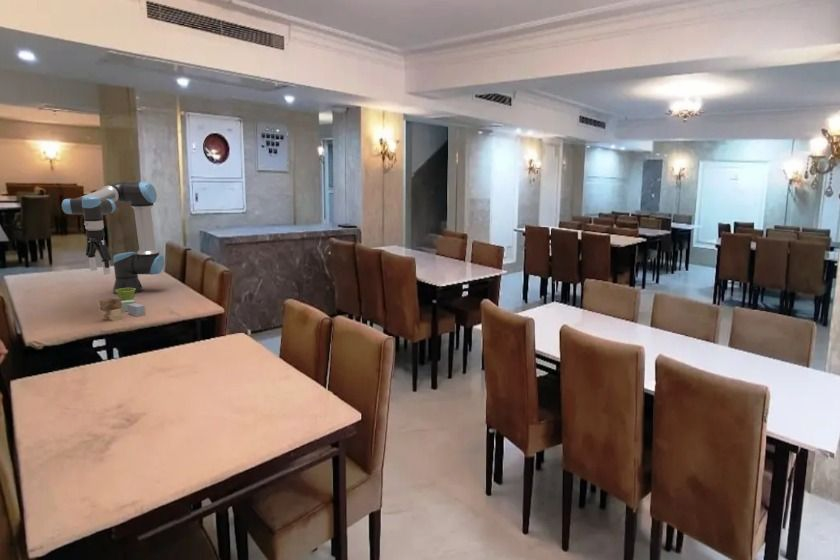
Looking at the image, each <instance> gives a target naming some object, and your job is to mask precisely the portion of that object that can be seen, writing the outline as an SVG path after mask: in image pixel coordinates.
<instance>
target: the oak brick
mask: <svg viewBox="0 0 840 560" xmlns="http://www.w3.org/2000/svg"><path fill="white" fill-rule="evenodd" d="M102 319H104V320H107V319H108V321H113V322H115V321H119V320H122V319H123V318H122V312H121V309H115V310H110V311H105V312H104V311H102Z"/></svg>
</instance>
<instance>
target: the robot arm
mask: <svg viewBox="0 0 840 560" xmlns="http://www.w3.org/2000/svg"><path fill="white" fill-rule="evenodd" d="M157 198H158V196H157V190H156V188H155V186H154V185H153V184H152V183H151V182H147V181H117V182H113V183H111V184H108V185H105V186H103V187H101V189H99V190H96V191H94V192H93V191H92V192H90V193H88V194H84V195H83V196H80V197H77V198H65V199H63V200H62V202H61V210H62V212H64V213H65V214H66V215H83V219H84V220H83V221H84V223H83V226H85V227H84V228H85V236H86V242H87V243H86V248H85V249H86V250H85V251H86V252H85V255H86V256H87V258H88V263H89V269H90V270H89V271H91V272H92V271H97V270H98V268H97V260H96V258H97V257H96V252H97V251H98V253H99V255H100V258H101V263H102V265H101V266H102V272H103V276H104V275H111V268H110V261H112V257H111V254H110V252H109V248H108V246H107V242H106V240H103V238H104V237H106V236H105V235H106V233H105V230H104V220H103V219H104V218H103V216H105V215H110V214H113V213H114V212H115V211H116V209H117V206H116V204H115V203H129V204H130V208H132V209H133V212H134V219H135V227H136V235H137V241H138V242H137V243H138V251H137V252H135V251H128V252H123V253H122V252H121V253H117V254H115V255H114V256H113V268H114V277H115V281H114V284H113V288H112V291H113V294H116V295H118V294H117V292H116V291H115V290H117V289H121V288H135V289H136V290H135V293H134V294H136V293H141V292H143V290H144V289H143V285H142V283H141V282H140V281H141V280H140V279H139V276H138V275H159V274H161V273H162V271H163V270H164V266H165V258H164V256H163V254H160V251H159V250H158V249H157V247H156V239H155V232H154V224H153V223H154V222H153V215H152V214H153V213H152V207H154V203H156V202H157Z"/></svg>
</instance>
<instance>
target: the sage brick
mask: <svg viewBox="0 0 840 560" xmlns="http://www.w3.org/2000/svg"><path fill="white" fill-rule="evenodd" d="M133 303H136V301H135V299H134V300H126V301H121V305H122V308H120V309H121V313H123V312H124V313H125V312H128V304H133Z"/></svg>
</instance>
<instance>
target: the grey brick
mask: <svg viewBox="0 0 840 560" xmlns="http://www.w3.org/2000/svg"><path fill="white" fill-rule="evenodd" d="M127 312H128V314H129V315H131V316H134V317H141V316H145V315H146V309H145V304H141V303H136V302H135V303H133V304H128V311H127Z"/></svg>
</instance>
